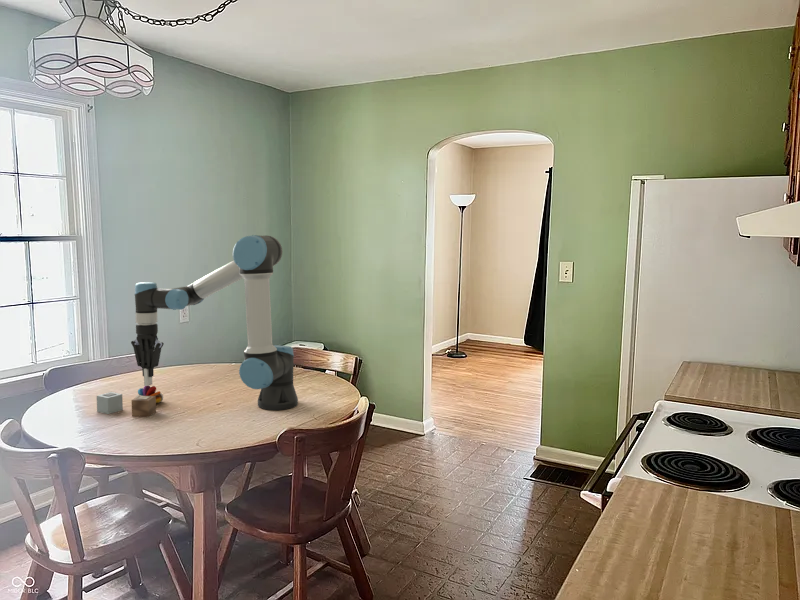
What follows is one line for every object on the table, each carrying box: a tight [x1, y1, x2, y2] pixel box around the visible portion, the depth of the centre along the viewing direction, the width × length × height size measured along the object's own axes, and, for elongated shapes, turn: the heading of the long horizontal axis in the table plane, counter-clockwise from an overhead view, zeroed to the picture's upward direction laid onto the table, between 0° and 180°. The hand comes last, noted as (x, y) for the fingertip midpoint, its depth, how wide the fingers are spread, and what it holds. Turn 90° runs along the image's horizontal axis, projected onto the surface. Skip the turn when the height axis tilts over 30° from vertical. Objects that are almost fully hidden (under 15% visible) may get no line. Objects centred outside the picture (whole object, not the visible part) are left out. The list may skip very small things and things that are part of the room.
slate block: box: [96, 391, 124, 415], centre depth 215 cm, size 6×6×6 cm
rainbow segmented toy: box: [134, 385, 164, 404], centre depth 225 cm, size 8×10×7 cm
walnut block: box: [131, 396, 157, 418], centre depth 212 cm, size 6×6×6 cm
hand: (148, 384), depth 224 cm, fingers closed
